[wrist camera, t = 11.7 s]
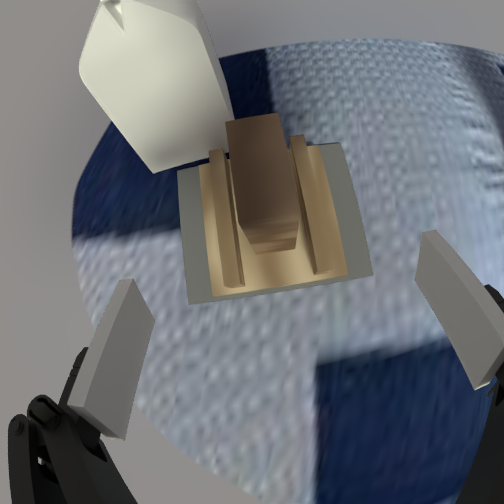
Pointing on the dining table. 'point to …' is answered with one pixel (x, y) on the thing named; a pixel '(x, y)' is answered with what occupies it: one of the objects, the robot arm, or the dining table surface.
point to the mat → (356, 268)
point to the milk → (158, 79)
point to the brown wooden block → (263, 183)
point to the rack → (278, 263)
